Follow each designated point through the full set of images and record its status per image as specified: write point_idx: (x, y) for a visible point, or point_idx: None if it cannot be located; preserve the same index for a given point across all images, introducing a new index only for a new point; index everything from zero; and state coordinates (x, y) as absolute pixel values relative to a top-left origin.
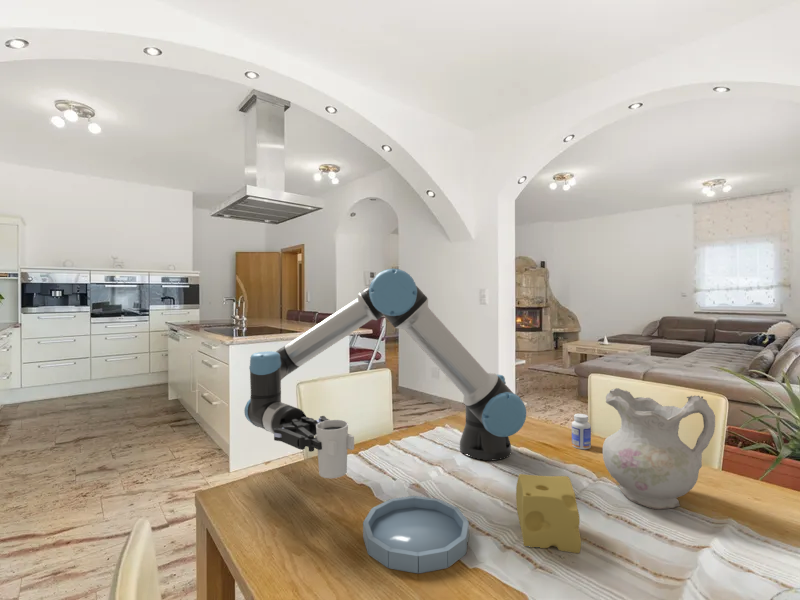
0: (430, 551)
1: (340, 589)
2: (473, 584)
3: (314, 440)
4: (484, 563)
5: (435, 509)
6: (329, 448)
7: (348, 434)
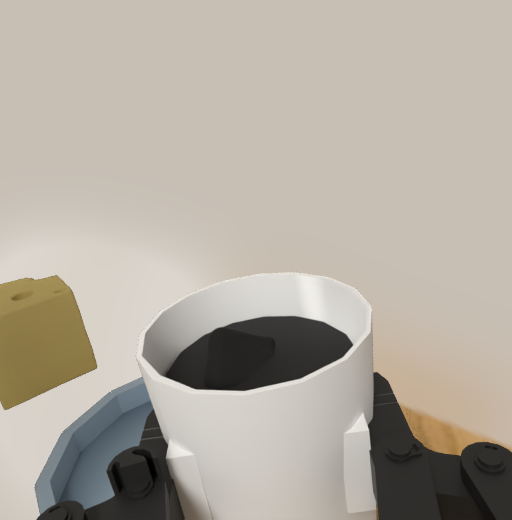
0: None
1: (433, 426)
2: None
3: (394, 415)
4: None
5: (58, 502)
6: None
7: None
